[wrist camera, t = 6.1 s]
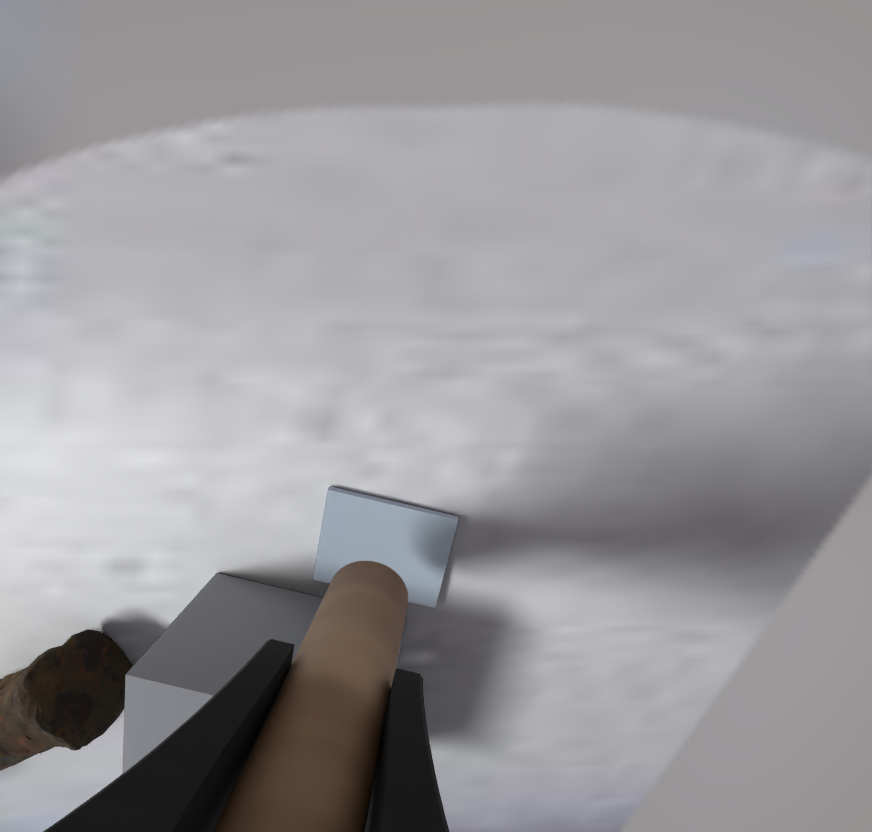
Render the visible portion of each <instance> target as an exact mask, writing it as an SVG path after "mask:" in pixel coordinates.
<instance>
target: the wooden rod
mask: <svg viewBox="0 0 872 832" xmlns="http://www.w3.org/2000/svg"><path fill="white" fill-rule="evenodd" d="M407 605H408V591H407V588H406V585H405V583H404V581H403V580H402V578H401V577H400V576H399V575H398V574H397V573H396V572H395V571H394V570H392V569H391V568H390V567H388V566H386V565H384V564H381V563H378V562H374V561H356V562H352V563H350V564H347V565H345V566H344V567H342V568H341V569H340V570H338V571H337V573H336V574H335V575H334V577H333V578H332V580H331V582H330V585H329V587H328V589H327V591H326V593H325V595H324V597H323V599H322V601H321V604H320V606H319V608H318V610H317V612H316V614H315V616H314V618H313V620H312V623H311V625H310V627H309V629H308V631H307V633H306V635H305V637H304V640H303V642H302V644H301V646H300V648H299V650H298V652H297V654H296V656H295V659H294V661H293V663H292V665H291V667H290V669H289V671H288V673H287V676H286V678H285V680H284V682H283V684H282V686H281V688H280V690H279V692H278V695H277V697H276V699H275V701H274V703H273V705H272V707H271V709H270V711H269V714H268V716H267V718H266V720H265V722H264V724H263V726H262V728H261V731H260V733H259V735H258V737H257V739H256V741H255V743H254V745H253V747H252V750H251V752H250V754H249V756H248V758H247V760H246V762H245V764H244V766H243V769H242V771H241V773H240V775H239V777H238V779H237V781H236V783H235V786H234V788H233V790H232V792H231V794H230V796H229V798H228V800H227V802H226V805H225V807H224V809H223V811H222V813H221V815H220V817H219V819H218V822H217V824H216V826H215V828H214V830H213V832H365V828H366V822H367V817H368V812H369V806H370V801H371V796H372V791H373V785H374V780H375V775H376V769H377V764H378V759H379V753H380V748H381V742H382V734H383V727H384V722H385V717H386V711H387V706H388V701H389V696H390V690H391V686H392V682H393V678H394V674H395V669H396V663H397V658H398V653H399V648H400V642H401V637H402V632H403V626H404V621H405V616H406V611H407Z"/></svg>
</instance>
